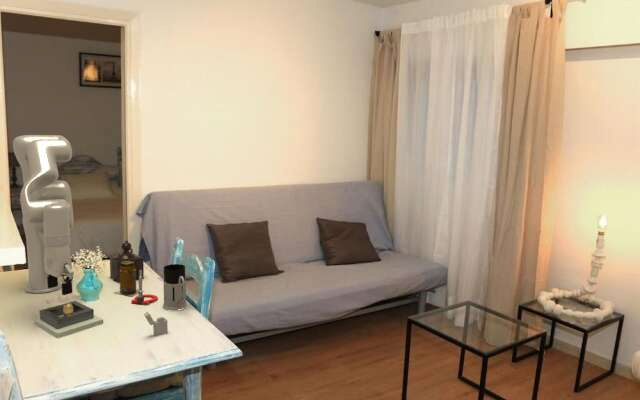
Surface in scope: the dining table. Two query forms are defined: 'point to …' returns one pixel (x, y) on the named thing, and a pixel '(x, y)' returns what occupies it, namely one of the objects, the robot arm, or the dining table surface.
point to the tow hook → (140, 297)
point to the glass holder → (174, 287)
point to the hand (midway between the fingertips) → (60, 290)
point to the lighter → (157, 324)
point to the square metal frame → (58, 322)
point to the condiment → (128, 279)
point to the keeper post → (68, 309)
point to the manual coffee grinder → (125, 256)
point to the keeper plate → (68, 329)
